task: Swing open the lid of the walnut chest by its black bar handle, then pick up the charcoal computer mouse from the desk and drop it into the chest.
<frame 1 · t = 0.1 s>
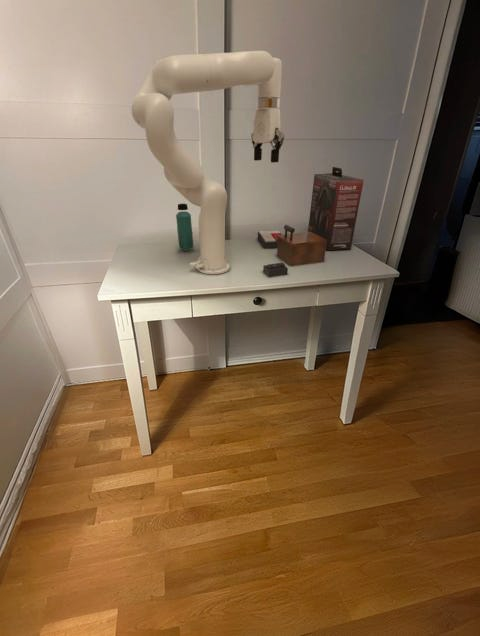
hand: (265, 161, 115), 37 cm above the table, tool pointing down, fingers open, 9 cm apart
beverage bottle: (186, 251, 140), on the table
lid: (301, 232, 126), point 11 cm above the table, hinge at 0.0°
headset box: (327, 243, 152), on the table
calculator: (271, 243, 150), on the table
chest: (299, 258, 132), on the table
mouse: (275, 273, 118), on the table
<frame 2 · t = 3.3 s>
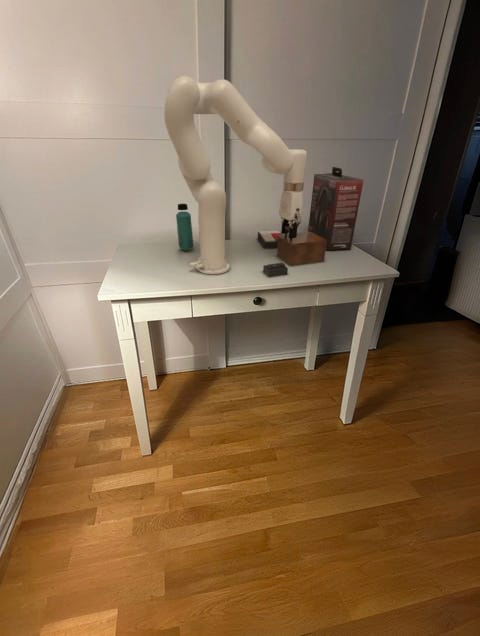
hand: (288, 235, 125), 11 cm above the table, tool pointing down, fingers closed on lid, 5 cm apart
lid: (301, 232, 126), point 11 cm above the table, hinge at 0.0°, touching gripper
everything else where it was.
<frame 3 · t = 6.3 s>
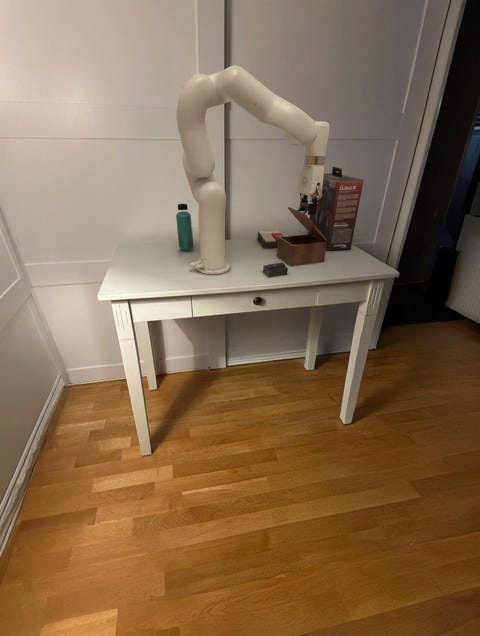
hand: (307, 212, 122), 19 cm above the table, tool pointing down, fingers closed on lid, 5 cm apart
lid: (311, 219, 125), point 16 cm above the table, hinge at 42.9°, touching gripper
everything else where it was.
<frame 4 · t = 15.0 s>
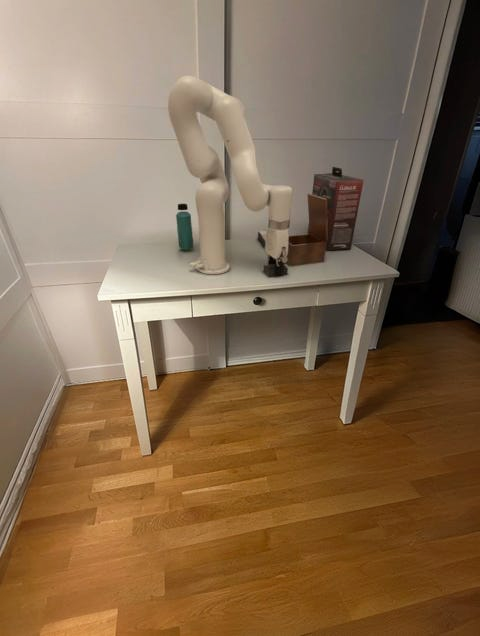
hand: (275, 271, 118), 0 cm above the table, tool pointing down, fingers closed on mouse, 5 cm apart
lid: (323, 215, 126), point 17 cm above the table, hinge at 78.0°
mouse: (275, 273, 118), on the table, touching gripper
everything else where it was.
when the fingers open (7 cm above the table, at t = 20.9 s): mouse drops 6 cm, resting on chest.
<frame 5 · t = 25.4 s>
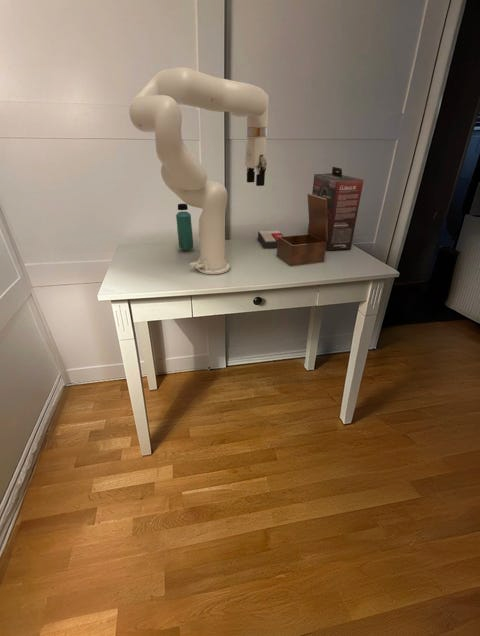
hand: (255, 183, 123), 28 cm above the table, tool pointing down, fingers open, 9 cm apart
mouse: (297, 257, 131), point 1 cm above the table, touching chest
everything else where it was.
at the end: lid at +78° (first picture: +0°); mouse inside the target area in the chest (1.0 cm from its centre), point 0.8 cm above the chest's base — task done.
